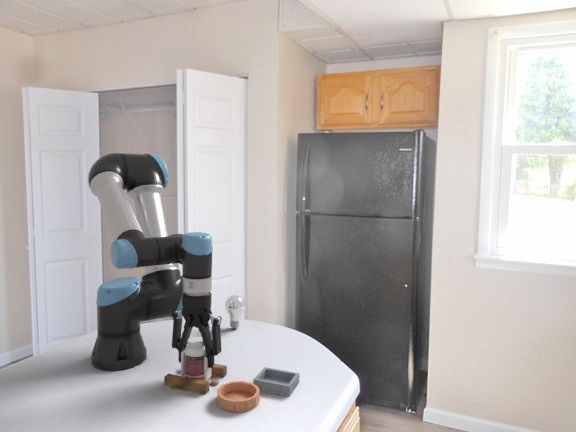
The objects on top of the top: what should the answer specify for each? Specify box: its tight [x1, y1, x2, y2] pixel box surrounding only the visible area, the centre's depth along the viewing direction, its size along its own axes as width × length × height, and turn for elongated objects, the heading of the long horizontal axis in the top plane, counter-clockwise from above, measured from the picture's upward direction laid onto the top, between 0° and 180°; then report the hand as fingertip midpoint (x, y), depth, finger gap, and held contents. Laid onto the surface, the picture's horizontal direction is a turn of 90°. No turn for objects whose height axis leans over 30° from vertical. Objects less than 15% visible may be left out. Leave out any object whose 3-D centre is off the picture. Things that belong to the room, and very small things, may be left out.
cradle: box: [163, 363, 228, 395], centre depth 125 cm, size 12×12×2 cm
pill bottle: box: [184, 336, 207, 380], centre depth 125 cm, size 6×6×11 cm
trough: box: [252, 366, 301, 397], centre depth 123 cm, size 10×8×3 cm
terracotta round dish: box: [216, 380, 261, 413], centre depth 115 cm, size 10×10×3 cm
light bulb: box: [224, 294, 246, 330], centre depth 163 cm, size 7×7×12 cm
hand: (196, 376), depth 125 cm, fingers closed on pill bottle, 6 cm apart
